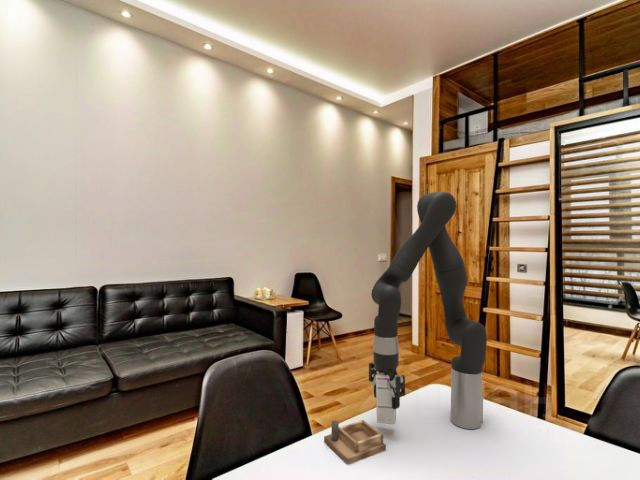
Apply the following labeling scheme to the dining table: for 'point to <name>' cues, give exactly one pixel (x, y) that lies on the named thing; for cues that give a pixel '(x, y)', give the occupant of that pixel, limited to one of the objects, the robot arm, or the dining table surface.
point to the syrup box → (384, 400)
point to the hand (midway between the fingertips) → (386, 402)
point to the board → (355, 441)
